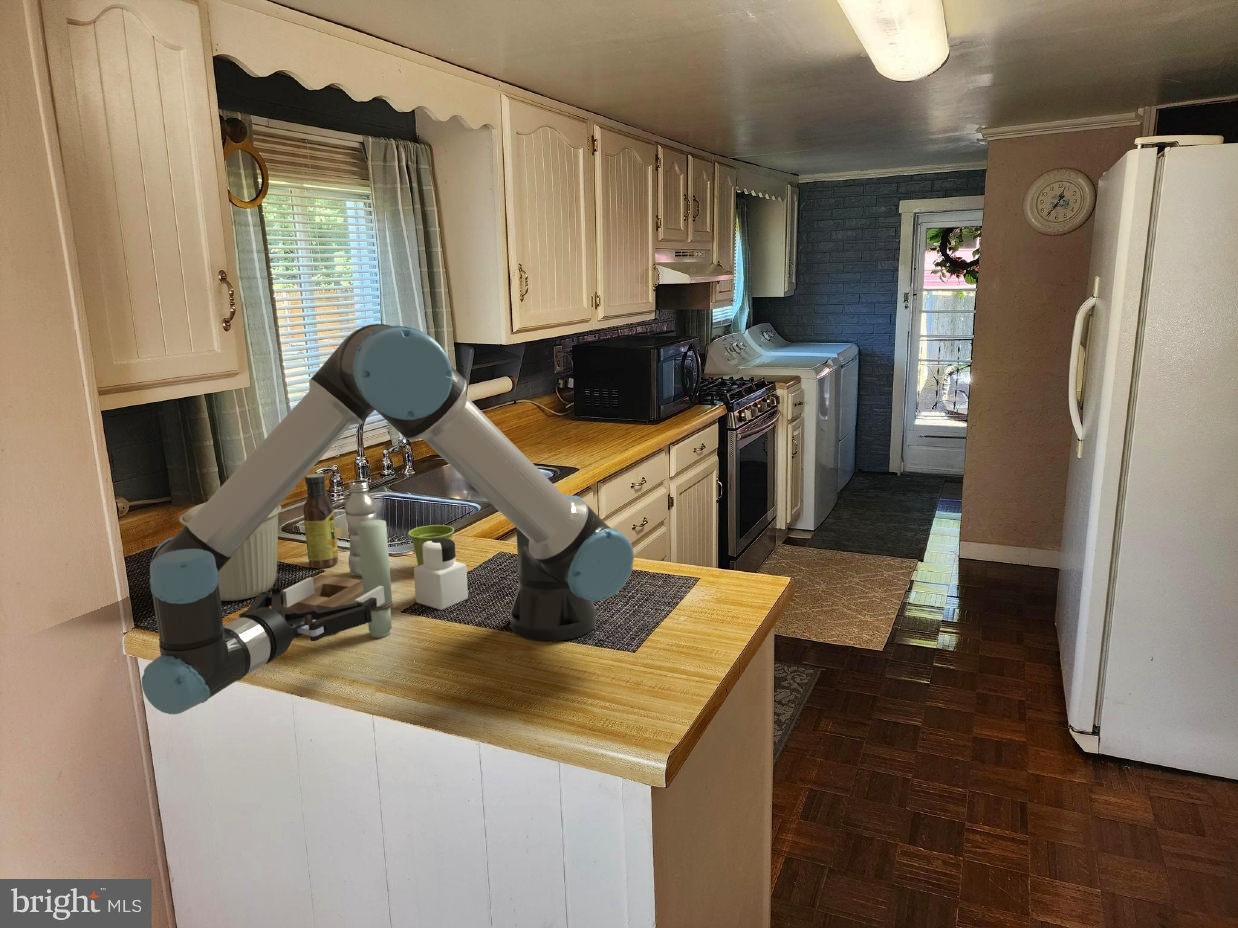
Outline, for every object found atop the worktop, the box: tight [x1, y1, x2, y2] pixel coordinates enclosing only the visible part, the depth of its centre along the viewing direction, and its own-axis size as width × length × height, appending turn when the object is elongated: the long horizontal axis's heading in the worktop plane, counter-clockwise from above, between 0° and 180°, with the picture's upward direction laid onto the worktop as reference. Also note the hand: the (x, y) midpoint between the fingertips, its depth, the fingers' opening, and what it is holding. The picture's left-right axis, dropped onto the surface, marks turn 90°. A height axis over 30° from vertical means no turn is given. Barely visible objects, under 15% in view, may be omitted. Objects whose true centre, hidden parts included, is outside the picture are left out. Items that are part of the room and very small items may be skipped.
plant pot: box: [407, 524, 455, 566], centre depth 178 cm, size 9×9×9 cm
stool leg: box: [358, 519, 393, 639], centre depth 145 cm, size 5×5×20 cm
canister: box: [179, 502, 282, 602], centre depth 166 cm, size 18×18×21 cm
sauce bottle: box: [302, 473, 339, 569], centre depth 182 cm, size 6×6×20 cm
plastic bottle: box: [343, 479, 378, 578], centre depth 175 cm, size 6×7×20 cm
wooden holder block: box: [282, 574, 364, 635], centre depth 155 cm, size 13×13×5 cm
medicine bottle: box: [413, 538, 469, 611], centre depth 161 cm, size 7×7×12 cm
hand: (346, 589), depth 138 cm, fingers open, 13 cm apart
